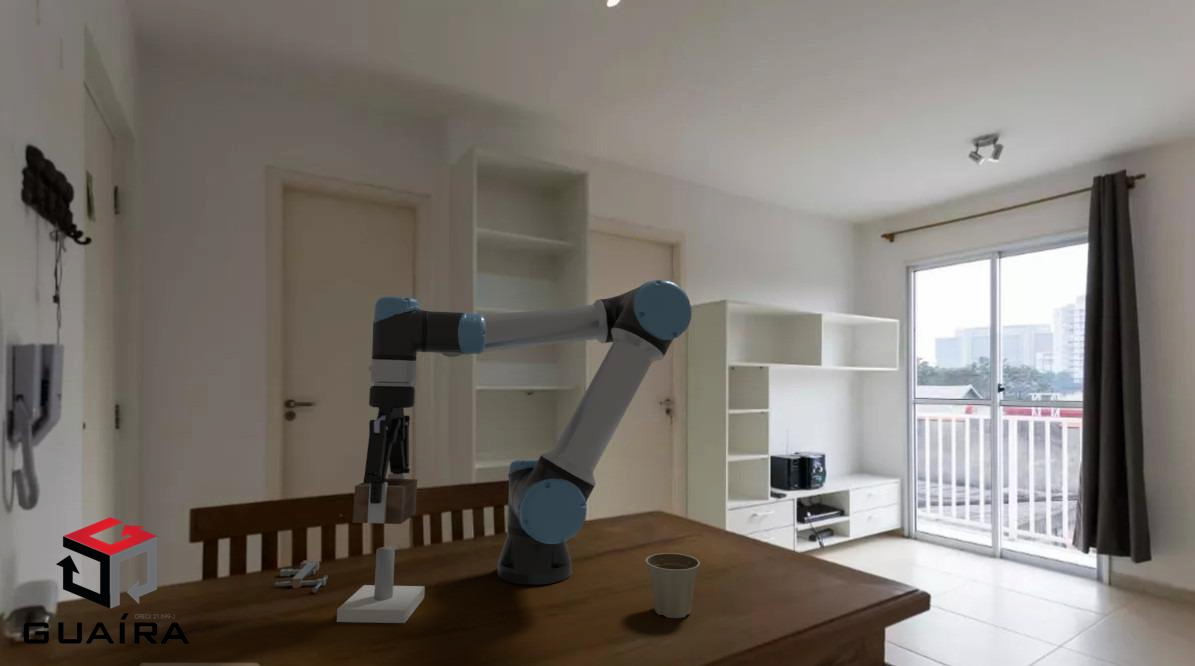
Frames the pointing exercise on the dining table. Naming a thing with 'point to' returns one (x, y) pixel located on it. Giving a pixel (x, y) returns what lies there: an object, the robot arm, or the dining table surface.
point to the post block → (382, 596)
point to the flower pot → (672, 583)
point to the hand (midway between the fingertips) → (385, 516)
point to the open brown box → (388, 501)
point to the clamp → (303, 575)
